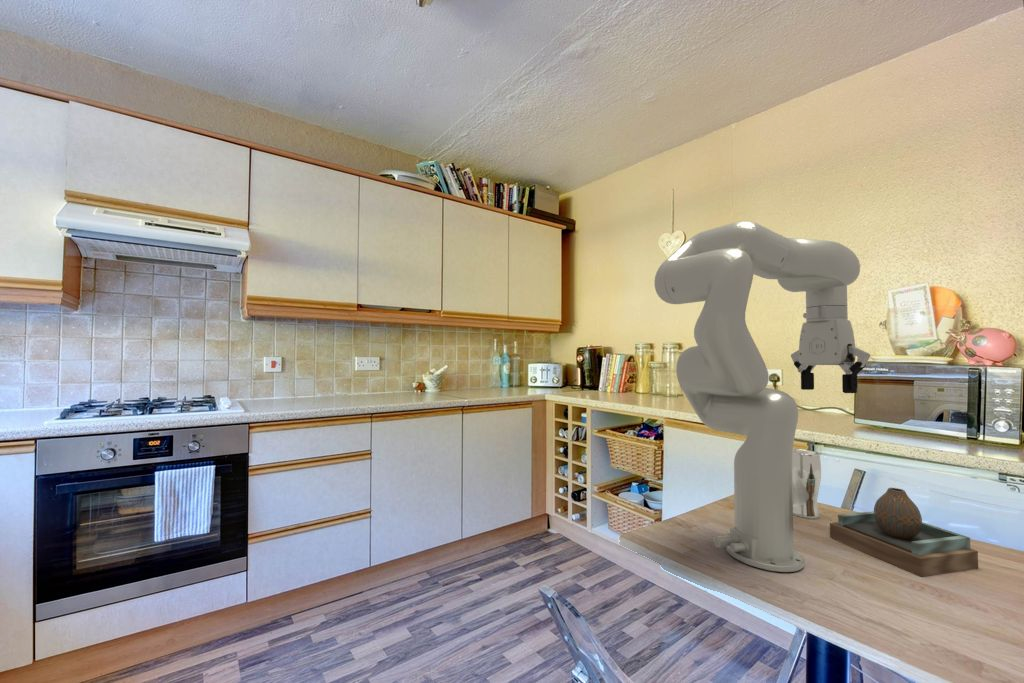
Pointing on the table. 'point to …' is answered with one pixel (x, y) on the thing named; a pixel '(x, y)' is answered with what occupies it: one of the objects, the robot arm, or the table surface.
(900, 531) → the vase
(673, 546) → the table surface
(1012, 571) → the table surface
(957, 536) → the dock
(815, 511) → the beer glass
